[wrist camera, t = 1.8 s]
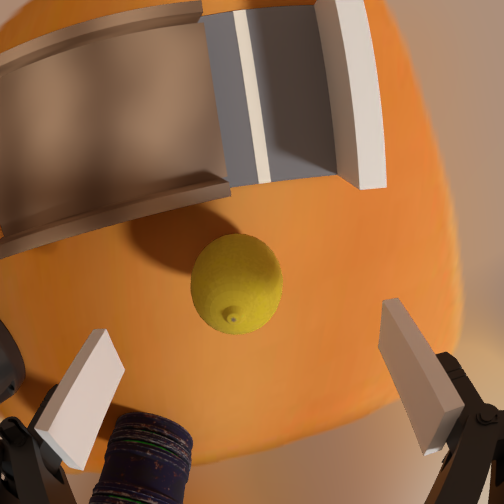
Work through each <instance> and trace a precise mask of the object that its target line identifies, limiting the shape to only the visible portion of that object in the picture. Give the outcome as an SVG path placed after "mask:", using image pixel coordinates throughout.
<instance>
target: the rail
mask: <svg viewBox="0 0 504 504" xmlns="http://www.w3.org/2000/svg"><path fill="white" fill-rule="evenodd" d="M314 8H315V13H316V18H317V23H318V28H319V34H320V39H321V45H322V51H323V57H324V63H325V70H326V76H327V83H328V90H329V98H330V106H331V114H332V122H333V132H334V141H335V152H336V163H337V175H339V176H340V177H342V178H343V179H345V180H346V181H348V182H349V183H351V184H352V185H354V186H355V187H356V188H358V189H359V190H363V189H374V188H385V187H387V185H386V160H385V144H384V131H383V120H382V109H381V100H380V92H379V84H378V77H377V70H376V63H375V57H374V51H373V45H372V40H371V34H370V29H369V24H368V19H367V15H366V10H365V6H364V1H363V0H317V1H316V3H315V4H314Z"/></svg>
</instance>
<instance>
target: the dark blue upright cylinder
mask: <svg viewBox="0 0 504 504" xmlns="http://www.w3.org/2000/svg"><path fill="white" fill-rule="evenodd" d="M192 447H193V440H192V437H191V435H190V434H189V433H188V432H187V431H186V430H185V429H184V428H183V427H182V426H180V425H179V424H177V423H175V422H173V421H171V420H169V419H167V418H164V417H161V416H158V415H154V414H149V413H141V412H133V413H127V414H124V415H122V416H120V417H119V418H118V420H117V422H116V425H115V429H114V430H113V433H112V435H111V436H110V439H109V442H108V445H107V450H106V453H105V457H104V458H105V463H104V466H103V470H102V473H101V476H100V479H99V482H98V483H97V484H96V485H95V488H94V489H93V494H92V497H91V498H90V501H89V504H183V498H184V490H185V484H186V483H187V481H188V477H189V471H190V468H191V450H192Z"/></svg>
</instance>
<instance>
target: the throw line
mask: <svg viewBox="0 0 504 504" xmlns="http://www.w3.org/2000/svg"><path fill="white" fill-rule="evenodd" d="M233 14H234V21H235V27H236V33H237V39H238V46H239V52H240V58H241V65H242V71H243V78H244V85H245V91H246V98H247V105H248V111H249V118H250V125H251V132H252V139H253V146H254V153H255V160H256V167H257V174H258V181H259V184H261V183H268V182H271V178H270V171H269V163H268V156H267V148H266V141H265V134H264V127H263V119H262V112H261V106H260V99H259V92H258V85H257V79H256V72H255V66H254V59H253V53H252V47H251V40H250V34H249V28H248V22H247V16H246V10H238V11H233Z"/></svg>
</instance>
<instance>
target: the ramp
mask: <svg viewBox="0 0 504 504" xmlns="http://www.w3.org/2000/svg"><path fill="white" fill-rule="evenodd" d="M202 13H203V9H202V2H201V0H200V1H189V2H180V3H172V4H165V5H158V6H152V7H146V8H141V9H135V10H130V11H126V12H121V13H116V14H112V15H108V16H104V17H100V18H96V19H93V20H89V21H86V22H82V23H79V24H75V25H72V26H69V27H66V28H63V29H60V30H57V31H54V32H51V33H49V34H46V35H43V36H41V37H38V38H35V39H33V40H30V41H28V42H26V43H23V44H21V45H19V46H16V47H14V48H12V49H10V50H7V51H5V52H3V53H1V54H0V225H1V228H2V231H3V234H4V237H2V238H1V239H0V259H2V258H5V257H8V256H11V255H14V254H17V253H20V252H24V251H27V250H30V249H33V248H36V247H39V246H42V245H46V244H49V243H52V242H55V241H59V240H62V239H65V238H69V237H72V236H75V235H79V234H82V233H86V232H89V231H93V230H96V229H100V228H103V227H107V226H111V225H114V224H118V223H122V222H125V221H129V220H133V219H137V218H141V217H145V216H149V215H152V214H156V213H160V212H164V211H168V210H173V209H177V208H181V207H185V206H189V205H194V204H198V203H202V202H207V201H211V200H215V199H220V198H224V197H229V196H231V191H230V185H229V182H228V181H226V180H224V179H222V178H223V177H228V176H227V170H226V164H225V157H224V151H223V145H222V138H221V132H220V126H219V119H218V113H217V106H216V100H215V93H214V87H213V80H212V74H211V67H210V60H209V54H208V47H207V40H206V33H205V26H204V22H203V23H198V21H199V19H200V17H201V15H202Z"/></svg>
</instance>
